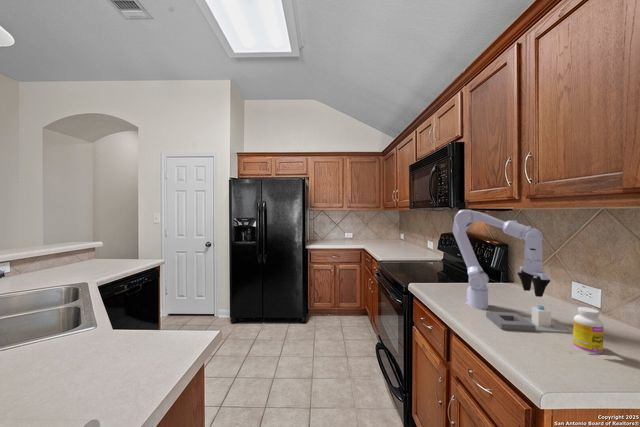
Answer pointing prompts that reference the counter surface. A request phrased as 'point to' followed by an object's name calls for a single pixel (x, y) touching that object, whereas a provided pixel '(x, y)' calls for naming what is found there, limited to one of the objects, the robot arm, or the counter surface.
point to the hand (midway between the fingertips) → (532, 293)
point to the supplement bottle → (588, 331)
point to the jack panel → (520, 323)
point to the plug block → (541, 316)
